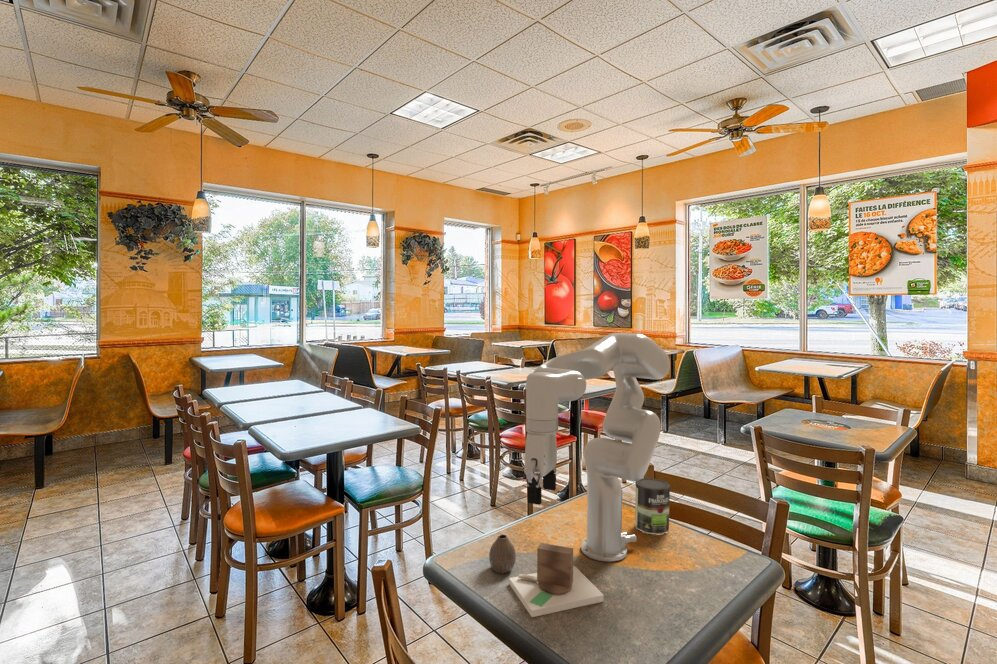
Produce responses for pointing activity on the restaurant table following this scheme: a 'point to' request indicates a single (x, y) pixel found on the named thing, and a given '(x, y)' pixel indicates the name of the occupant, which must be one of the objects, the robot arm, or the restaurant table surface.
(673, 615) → the restaurant table surface
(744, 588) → the restaurant table surface
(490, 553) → the vase
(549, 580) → the dial knob
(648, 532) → the coffee can
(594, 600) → the dial board
